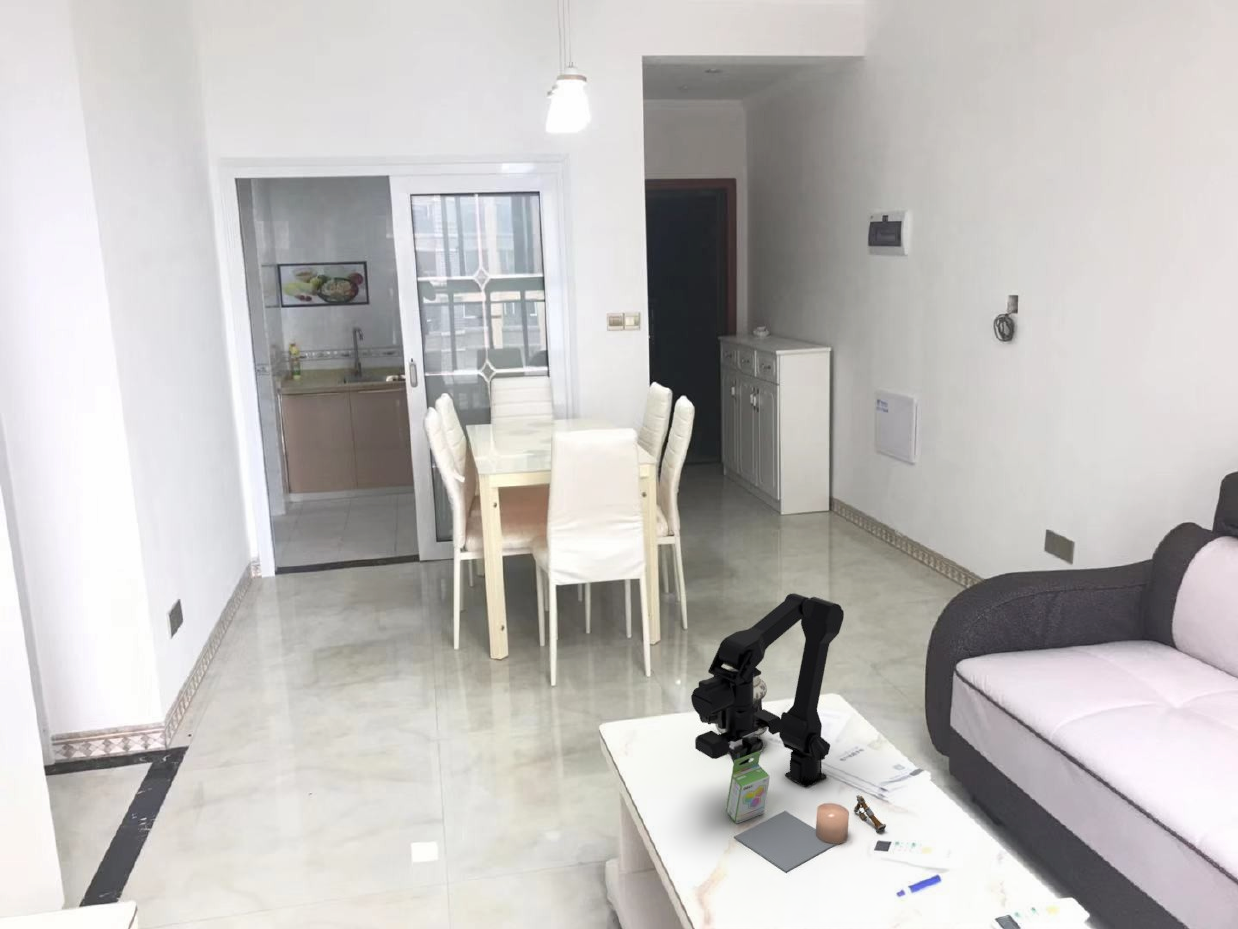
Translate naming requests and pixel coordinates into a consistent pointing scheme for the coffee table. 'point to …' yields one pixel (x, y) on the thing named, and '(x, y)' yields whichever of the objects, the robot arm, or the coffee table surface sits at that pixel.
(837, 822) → the peach pillar candle
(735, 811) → the ink box
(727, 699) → the robot arm
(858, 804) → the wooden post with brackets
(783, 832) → the slate mat
